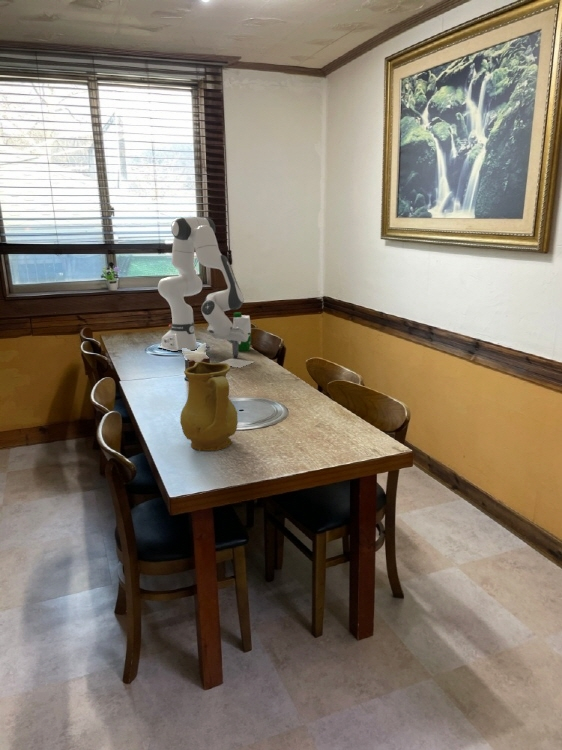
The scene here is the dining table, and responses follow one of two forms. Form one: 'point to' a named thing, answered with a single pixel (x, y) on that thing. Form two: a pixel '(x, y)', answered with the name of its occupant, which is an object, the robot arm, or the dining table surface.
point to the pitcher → (208, 407)
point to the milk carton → (246, 326)
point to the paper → (237, 362)
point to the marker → (235, 349)
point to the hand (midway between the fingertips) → (235, 342)
